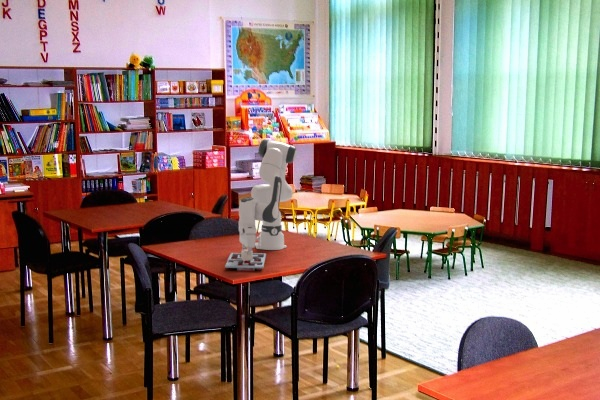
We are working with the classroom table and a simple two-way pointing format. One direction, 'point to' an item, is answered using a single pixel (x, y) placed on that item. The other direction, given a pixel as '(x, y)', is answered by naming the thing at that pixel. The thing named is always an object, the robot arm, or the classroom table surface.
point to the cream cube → (245, 256)
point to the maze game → (246, 262)
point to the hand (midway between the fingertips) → (246, 253)
